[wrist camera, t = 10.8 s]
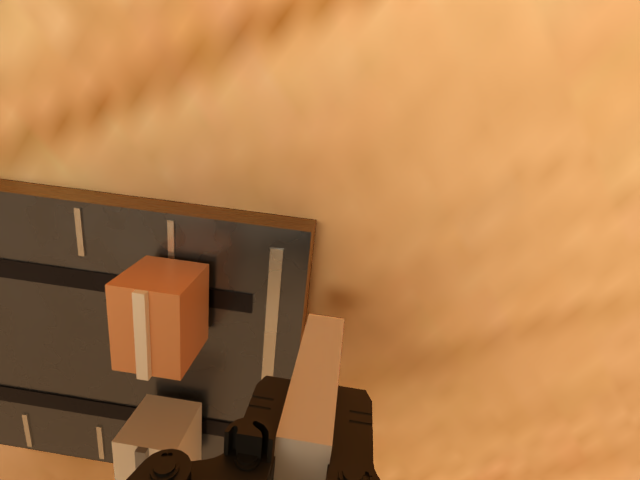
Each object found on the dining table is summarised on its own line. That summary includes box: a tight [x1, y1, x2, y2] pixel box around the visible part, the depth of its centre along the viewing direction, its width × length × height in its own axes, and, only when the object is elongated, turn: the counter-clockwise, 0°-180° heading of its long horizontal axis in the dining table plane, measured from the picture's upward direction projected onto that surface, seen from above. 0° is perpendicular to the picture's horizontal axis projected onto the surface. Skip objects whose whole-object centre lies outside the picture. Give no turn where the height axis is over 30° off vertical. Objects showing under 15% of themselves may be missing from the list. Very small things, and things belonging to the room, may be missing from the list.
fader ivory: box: [112, 394, 202, 480], centre depth 20 cm, size 3×4×4 cm
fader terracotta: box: [105, 255, 209, 381], centre depth 18 cm, size 3×4×4 cm
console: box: [0, 179, 316, 463], centre depth 22 cm, size 22×16×2 cm
